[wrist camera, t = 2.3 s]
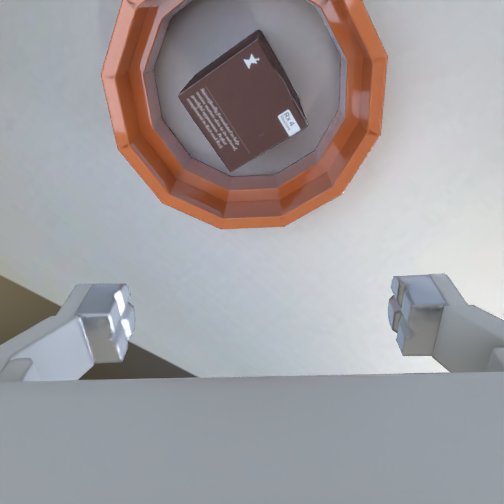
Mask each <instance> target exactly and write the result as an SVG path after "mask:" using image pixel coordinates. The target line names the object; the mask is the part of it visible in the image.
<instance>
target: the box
mask: <svg viewBox="0 0 504 504" xmlns="http://www.w3.org/2000/svg"><path fill="white" fill-rule="evenodd" d="M178 97H179V99H180V100H181V102H182V104H183V105H184V106H185V108H186V109H187V111H188V112H189V114H190V115H191V117H192V118H193V120H194V121H195V123H196V124H197V125H198V127H199V128H200V130H201V131H202V133H203V134H204V135H205V137H206V138H207V140H208V141H209V143H210V144H211V145H212V147H213V148H214V150H215V151H216V152H217V154H218V155H219V157H220V158H221V160H222V161H223V162H224V164H225V165H226V167H227V168H228V169H229V171H230V172H233V171H235V170H236V169H238V168H239V167H241V166H243V165H245V164H246V163H248V162H249V161H251V160H253V159H254V158H256V157H257V156H259V155H261V154H262V153H264V152H266V151H267V150H269V149H271V148H272V147H274V146H276V145H277V144H279V143H281V142H282V141H284V140H285V139H287V138H289V137H291V136H292V135H294V134H296V133H297V132H299V131H301V130H302V129H304V128H306V127H307V126H308V122H307V121H306V118H305V115H304V112H303V110H302V107H301V105H300V101H299V98H298V96H297V94H296V92H295V90H294V89H293V87H292V85H291V83H290V81H289V79H288V77H287V76H286V74H285V72H284V70H283V68H282V66H281V65H280V63H279V61H278V59H277V58H276V56H275V54H274V52H273V51H272V49H271V47H270V46H269V44H268V42H267V41H266V39H265V37H264V35H263V33H262V32H261V31H260V30H257V31H255V32H254V33H253V34H251V35H250V36H248V37H247V38H245V39H244V40H243V41H241V42H240V43H238V44H237V45H236V46H234V47H233V48H231V49H230V50H229V51H227V52H226V53H224V54H223V55H222V56H220V57H219V58H218V59H216V60H215V61H214V62H212V63H211V64H209V65H208V66H207V67H205V68H204V69H203V70H201V71H200V72H199V73H197V74H196V75H195V76H194V77H193V78H192V79H191V80H190V81H189V83H188V84H187V85H186V86H185V87H184V89H183V90H182V91H181V92H180V94H179V95H178Z"/></svg>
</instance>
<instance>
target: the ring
mask: <svg viewBox="0 0 504 504" xmlns="http://www.w3.org/2000/svg"><path fill="white" fill-rule="evenodd" d="M191 1H192V0H122V3H121V6H120V10H119V13H118V17H117V20H116V24H115V27H114V31H113V34H112V38H111V41H110V44H109V48H108V51H107V55H106V58H105V62H104V65H103V69H102V72H101V78H102V82H103V87H104V91H105V96H106V100H107V104H108V109H109V113H110V117H111V122H112V126H113V130H114V135H115V139H116V144H117V148H118V150H119V151H120V152H121V154H122V155H123V156H124V157H125V158H126V160H127V161H128V162H129V163H130V164H131V166H132V167H133V168H134V169H135V170H136V172H137V173H138V174H139V175H140V177H141V178H142V179H143V180H144V181H145V183H146V184H147V185H148V186H149V187H150V189H151V190H152V191H153V192H154V193H155V195H156V196H157V197H158V198H159V199H160V201H161V202H162V203H164V204H166V205H168V206H170V207H173V208H175V209H177V210H179V211H181V212H184V213H186V214H188V215H190V216H193V217H195V218H197V219H199V220H202V221H204V222H206V223H208V224H211V225H213V226H215V227H217V228H220V229H238V228H262V227H284V226H286V225H288V224H290V223H291V222H293V221H295V220H297V219H299V218H300V217H302V216H304V215H306V214H307V213H309V212H311V211H313V210H315V209H316V208H318V207H320V206H322V205H323V204H325V203H327V202H329V201H331V200H332V199H334V198H336V197H338V196H340V195H341V194H342V193H343V192H344V190H345V189H346V187H347V185H348V184H349V182H350V181H351V179H352V178H353V176H354V175H355V173H356V172H357V170H358V169H359V167H360V166H361V164H362V163H363V161H364V160H365V158H366V157H367V155H368V154H369V152H370V151H371V149H372V147H373V146H374V144H375V143H376V141H377V140H378V138H379V137H380V135H381V125H382V114H383V103H384V92H385V81H386V70H387V59H388V57H387V54H386V51H385V49H384V47H383V45H382V43H381V41H380V38H379V36H378V34H377V32H376V30H375V28H374V25H373V23H372V21H371V19H370V17H369V15H368V12H367V10H366V8H365V6H364V4H363V2H362V0H305V1H306V2H308V3H310V4H312V5H313V6H315V7H316V8H317V10H318V12H319V14H320V16H321V18H322V20H323V22H324V24H325V26H326V28H327V30H328V32H329V34H330V36H331V37H332V39H333V41H334V43H335V45H336V47H337V49H338V51H339V53H340V55H341V72H340V97H339V110H338V111H337V113H336V115H335V117H334V118H333V120H332V122H331V123H330V125H329V127H328V129H327V130H326V132H325V134H324V135H323V137H322V139H321V140H320V142H319V144H318V146H317V147H316V149H315V151H314V152H312V153H310V154H309V155H307V156H305V157H304V158H302V159H300V160H299V161H297V162H295V163H294V164H292V165H291V166H289V167H287V168H286V169H284V170H282V171H281V172H279V173H277V174H276V175H259V176H238V177H231V176H229V175H227V174H225V173H223V172H220V171H218V170H216V169H214V168H212V167H210V166H208V165H206V164H204V163H202V162H199V161H197V160H195V159H193V158H191V157H190V156H189V154H188V153H187V152H186V150H185V149H184V148H183V146H182V145H181V144H180V142H179V141H178V140H177V138H176V137H175V136H174V134H173V133H172V132H171V130H170V129H169V128H168V126H167V125H166V124H165V122H164V121H163V120H162V116H161V110H160V104H159V98H158V92H157V86H156V80H155V75H154V69H153V68H154V65H155V62H156V60H157V57H158V54H159V51H160V48H161V45H162V42H163V39H164V36H165V34H166V31H167V28H168V25H169V22H170V19H171V17H172V16H174V15H175V14H176V13H177V12H179V11H180V10H181V9H182V8H183V7H185V6H186V5H187V4H188V3H190V2H191Z"/></svg>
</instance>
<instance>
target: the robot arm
mask: <svg viewBox="0 0 504 504" xmlns="http://www.w3.org/2000/svg"><path fill="white" fill-rule="evenodd" d="M391 289H392V291H393V294H394V295H393V296H392V297H391V298H390V299H389V305H388V318H389V322H390V325H391V328H392V330H393V331H395V332H396V333H397V339H396V341H397V343H398V345H399V348H400V350H401V353H402V355H403V356H432V357H433V358H434V359H435V360H436V361H437V362H439V363H440V364H441V365H442V366H443V367H445V368H446V369H447V370H448V371H449V372H451V373H406V374H357V375H309V376H260V377H211V378H165V379H164V378H162V379H112V380H78V379H79V378H80V377H81V376H82V375H83V374H84V373H85V372H87V371H88V370H89V369H90V368H91V367H92V366H93V365H94V363H110V362H122V361H123V358H124V356H125V353H126V351H127V348H128V343H127V339H129V338H130V337H131V336H132V335H133V332H134V329H135V311H134V306H132V305H131V304H130V303H129V302H128V300H129V298H130V296H131V294H130V290H129V286H128V285H127V284H79V285H76V286H75V287H74V289H73V291H72V292H71V294H70V295H69V297H68V298H67V300H66V301H65V303H64V304H63V306H62V307H61V309H60V310H59V312H58V313H57V315H56V316H50V317H49V318H47V319H46V320H43V321H42V322H40V323H38V324H36V325H35V326H33V327H31V328H29V329H28V330H26V331H25V332H23V333H21V334H19V335H17V336H16V337H14V338H12V339H11V340H9V341H7V342H5V343H3V344H2V345H0V504H504V320H502V319H500V318H498V317H496V316H494V315H492V314H490V313H488V312H486V311H484V310H482V309H480V308H478V307H476V306H474V305H468V304H467V303H466V301H465V300H464V298H463V297H462V296H461V294H460V293H459V291H458V290H457V288H456V287H455V286H454V284H453V283H452V281H451V280H450V278H449V277H448V276H447V275H446V274H427V275H412V276H394V277H393V279H392V284H391Z"/></svg>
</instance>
